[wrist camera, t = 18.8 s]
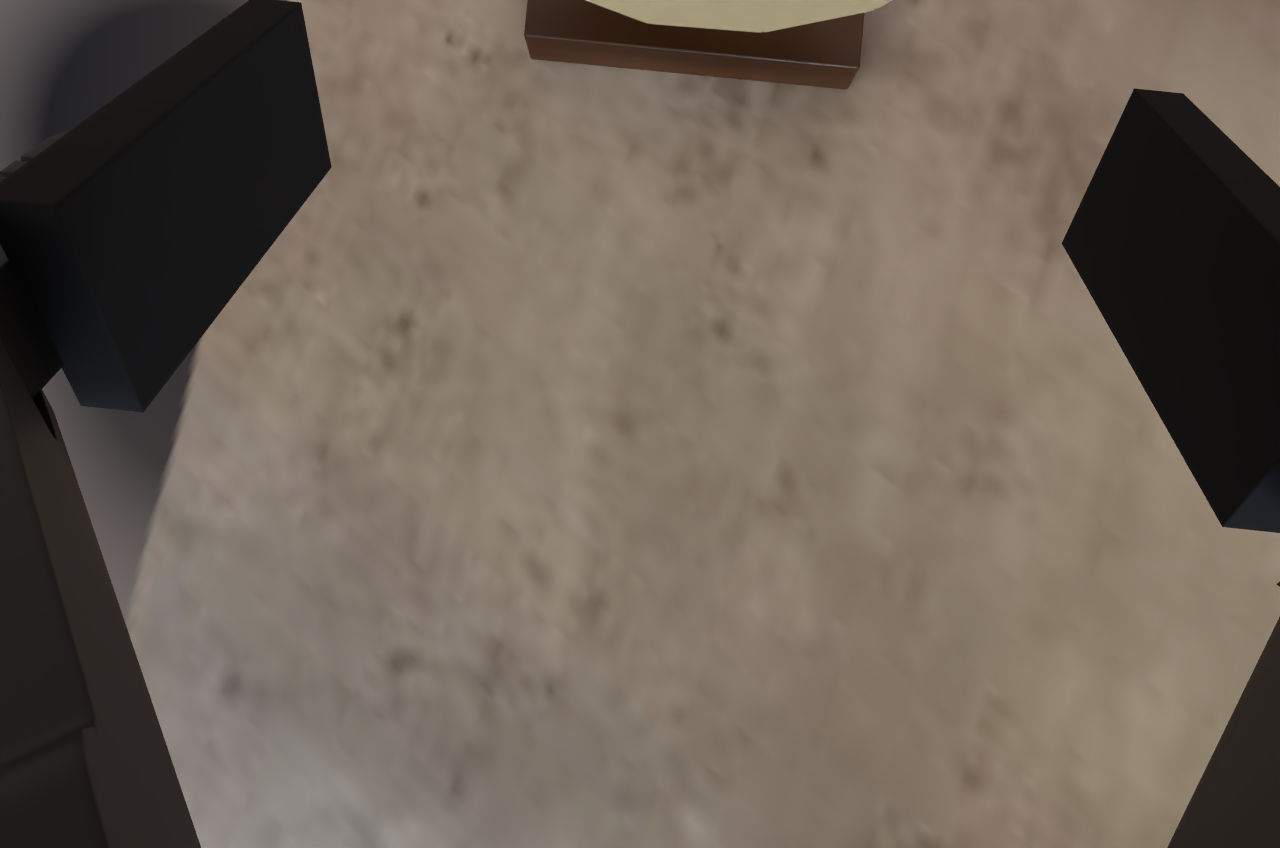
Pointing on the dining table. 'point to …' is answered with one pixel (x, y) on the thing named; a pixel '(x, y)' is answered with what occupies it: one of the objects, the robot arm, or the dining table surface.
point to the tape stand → (695, 45)
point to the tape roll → (738, 12)
